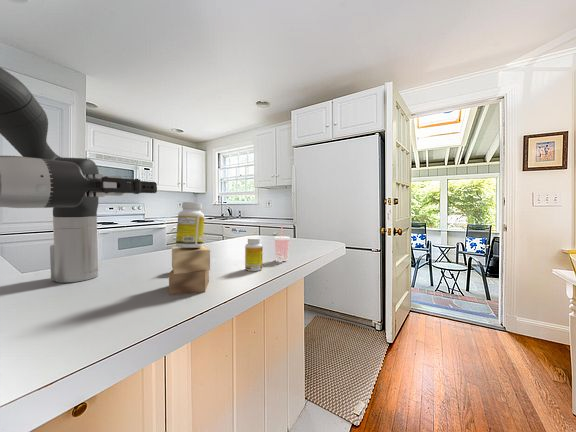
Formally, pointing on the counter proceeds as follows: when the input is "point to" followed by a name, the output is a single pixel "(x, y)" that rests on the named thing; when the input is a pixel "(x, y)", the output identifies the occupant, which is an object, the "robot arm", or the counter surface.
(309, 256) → the counter surface
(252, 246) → the supplement bottle
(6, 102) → the robot arm
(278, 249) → the beverage cup
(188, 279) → the lower block
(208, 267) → the upper block
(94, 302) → the counter surface
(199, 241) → the pill bottle
